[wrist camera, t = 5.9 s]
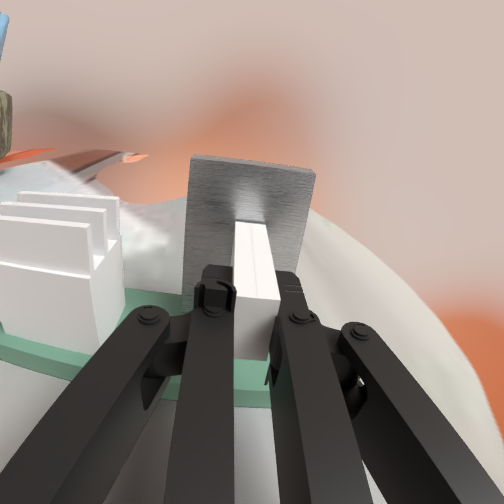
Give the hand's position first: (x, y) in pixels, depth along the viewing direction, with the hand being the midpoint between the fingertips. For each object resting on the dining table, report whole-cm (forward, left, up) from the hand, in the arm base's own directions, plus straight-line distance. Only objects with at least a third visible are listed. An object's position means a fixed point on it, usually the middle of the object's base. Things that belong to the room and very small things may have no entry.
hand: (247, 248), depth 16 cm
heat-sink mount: (-5, 0, -7) cm, 9 cm away
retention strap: (0, +2, -6) cm, 6 cm away
